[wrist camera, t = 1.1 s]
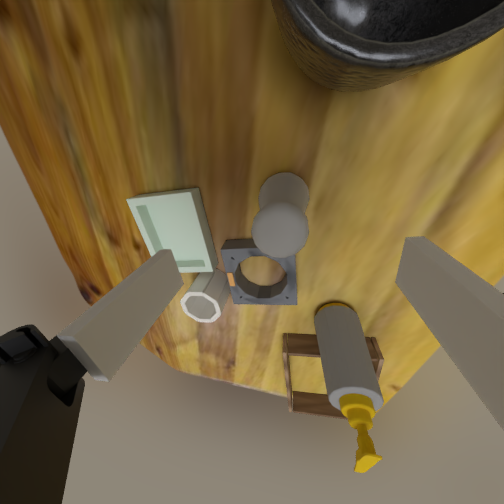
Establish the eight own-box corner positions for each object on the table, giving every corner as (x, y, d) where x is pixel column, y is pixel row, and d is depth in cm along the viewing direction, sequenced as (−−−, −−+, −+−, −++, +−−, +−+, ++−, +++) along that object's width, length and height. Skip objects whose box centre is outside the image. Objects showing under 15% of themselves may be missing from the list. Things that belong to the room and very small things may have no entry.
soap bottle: (309, 325, 36) (322, 465, 20) (318, 296, 32) (341, 439, 17) (349, 332, 35) (394, 484, 20) (362, 303, 31) (430, 460, 16)
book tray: (283, 333, 38) (282, 352, 35) (375, 337, 35) (384, 359, 31) (289, 392, 48) (289, 411, 44) (361, 400, 44) (367, 422, 41)
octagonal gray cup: (193, 268, 34) (175, 292, 29) (226, 267, 33) (214, 292, 28) (202, 295, 37) (188, 321, 32) (233, 296, 35) (223, 322, 30)
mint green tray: (138, 194, 29) (126, 199, 27) (198, 187, 27) (190, 191, 25) (166, 264, 35) (158, 272, 32) (218, 263, 32) (213, 271, 30)
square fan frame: (226, 240, 30) (220, 250, 27) (294, 236, 28) (294, 246, 25) (238, 291, 35) (233, 304, 32) (296, 291, 33) (297, 306, 30)
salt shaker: (272, 222, 27) (259, 279, 16) (253, 182, 25) (223, 218, 14) (314, 204, 25) (332, 256, 14) (297, 160, 23) (303, 181, 12)
